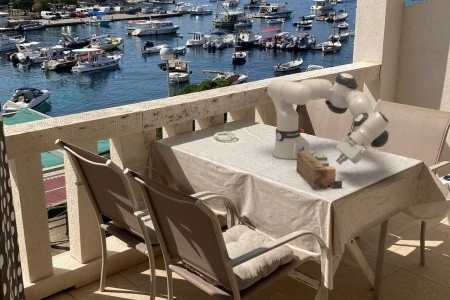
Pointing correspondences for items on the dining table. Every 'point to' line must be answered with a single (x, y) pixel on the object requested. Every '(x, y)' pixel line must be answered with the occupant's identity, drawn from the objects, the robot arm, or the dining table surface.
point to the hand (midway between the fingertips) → (337, 162)
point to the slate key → (324, 163)
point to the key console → (314, 172)
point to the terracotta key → (330, 174)
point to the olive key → (321, 157)
